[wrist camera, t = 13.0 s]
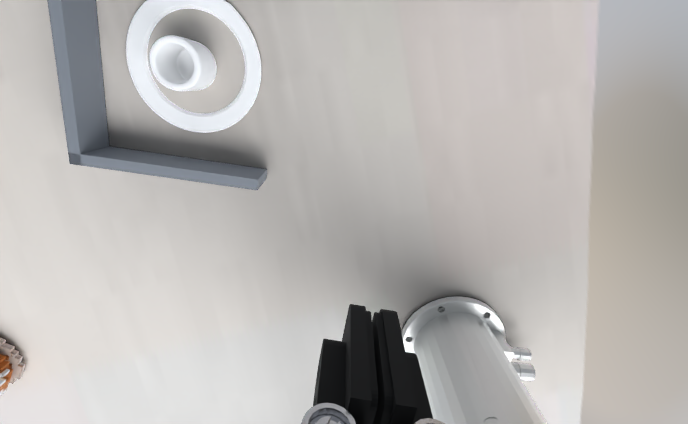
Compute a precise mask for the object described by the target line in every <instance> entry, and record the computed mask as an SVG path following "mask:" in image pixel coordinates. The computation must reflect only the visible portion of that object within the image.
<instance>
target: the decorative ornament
mask: <svg viewBox="0 0 688 424" xmlns="http://www.w3.org/2000/svg"><path fill="white" fill-rule="evenodd" d="M14 348H15V346H13V345H10V344H7V343H6V340H5V339H3V338H0V396H1V395H2V394H3V393H4V392H5V391H7V387H8V384H9V383H12V384H13V383H14V382H15V381H16V380H17V379H20V378H21V377H22V376H23V372H24V369H25V365H26V364H25V363H22V362H21V361H22V357H23V356H21V355H19V354H18V353H19V351H17V350H14Z"/></svg>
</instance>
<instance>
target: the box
mask: <svg viewBox="0 0 688 424" xmlns="http://www.w3.org/2000/svg"><path fill="white" fill-rule="evenodd" d="M48 8H49V15H50V22H51V30H52V37H53V44H54V52H55V59H56V66H57V74H58V81H59V88H60V96H61V103H62V110H63V118H64V125H65V132H66V140H67V147H68V154H69V162H70V164H75V165H83V166H90V167H97V168H104V169H111V170H118V171H125V172H132V173H139V174H146V175H153V176H160V177H167V178H174V179H181V180H188V181H195V182H203V183H210V184H217V185H224V186H231V187H238V188H245V189H252V190H258V189H259V187H260V186H261V185H262V184H263V182H264V181H265V180H266V176H267V169H262V168H255V167H249V166H242V165H235V164H228V163H221V162H214V161H207V160H201V159H194V158H187V157H180V156H173V155H166V154H159V153H152V152H146V151H139V150H132V149H125V148H118V147H111V146H109V138H108V127H107V116H106V105H105V95H104V84H103V73H102V62H101V51H100V41H99V30H98V19H97V8H96V0H48Z"/></svg>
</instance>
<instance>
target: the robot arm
mask: <svg viewBox="0 0 688 424" xmlns="http://www.w3.org/2000/svg"><path fill="white" fill-rule="evenodd" d="M512 359H517V360H523V361H530V360H531V352H530V350H529V349H527V348H518V347H517V348H513V347H511V346H510V345H508V343H507V342H506V335H505V329H504V325H503V323H502V322H501V320H500V318H499V317H498V315H497V314H496V313H495V311H494V310H493V309H492V308H491V307H489V306H488V305H487V304H485V303H483V302H481V301H479V300H476V299H473V298H469V297H461V296H456V297H446V298H441V299H438V300H435V301H432V302H430V303H428V304H426V305H424V306H423V307H421V308H420V309H418V310H417V311H416V312H415V313H413V315H412V316H411V317H410V318H409V319H408V320H407V322H406V324H405V326H404V327H403V330H402V333H401V329H400V324H399V319H398V315H397V312H396V311H390V310H383V309H381V310H380V313H376V312H375V313H374V316H373V320H371V312H370V311H366V308H365V306H359V305H353V304H350V306H349V310H348V315H347V319H346V324H345V329H344V334H343V338H342V342H341V341H335V340H328V339H323V344H322V349H321V354H320V360H319V366H318V372H317V379H316V387H315V395H314V403H313V407H311V408H310V409H309V410H308V411H307V412H306V414H305V416H304V418H303V420H302V423H301V424H548V423H547V421H546V420H545V418H544V417H543V415H542V413H541V412H540V410H539V408H538V407H537V405H536V403H535V402H534V400H533V398H532V397H531V395H530V393H529V392H528V390H527V388H526V387H525V385H524V383H523V382H522V380H525V381H533V380H534V379H535V369H534V367H533V366H532V365H531V364H527V363H518V362H514V363H512V362H511V360H512Z"/></svg>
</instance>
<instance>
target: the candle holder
mask: <svg viewBox="0 0 688 424" xmlns="http://www.w3.org/2000/svg"><path fill="white" fill-rule="evenodd" d="M180 9H198V10H202V11H205V12H208V13H210V14H212V15H214V16H215V17H217V18H218V19H220V20H221V21H222V22H223V23H224V24H226V25H227V26H228V28H229V29H230V30H231V31H232V32H233V34H234V35H235V37H236V39H237V40H238V42H239V44H240V47H241V49H242V53H243V56H244V62H245V76H244V81H243V85H242V88H241V90H240V92H239V94H238V95H237V97H236V98H235V99H234V100H233V102H232V103H230V104H229V105H228V106H227V107H225V108H223V109H221V110H219V111H216V112H213V113H194V112H190V111H187V110H185V109H182V108H180V107H179V106H177V105H175V104H174V103H173V102H171V101H170V100H169V99H168V98H167V97H166V96H165V95H164V94H163V93H162V92H161V90H160V89H159V88H158V86H157V85H156V83H155V81H154V79H153V77H152V74H151V72H150V68H151V70H152V73H153V74H154V76H155V78H156V79H157V80H158V81H159V82H160V83H161V84H162V85H164V86H165V87H167V88H169V89H171V90H175V91H196V90H203V89H205V88H207V87H209V86H210V85H211V84H212V83H213V81H214V79H215V77H216V73H217V66H216V61H215V58H214V56H213V54H212V53H211V51H210V50H209V49H208V48H207V47H206V46H204V45H203V44H201V43H199V42H197V41H194V40H190V39H187V38H183V37H180V36H175V35H167V36H163V37H161V38H159V39H158V40H157V41H155V43H154V44H153V45H152V47H151V50H150V53H149V63H150V68H149V64H148V56H147V50H148V42H149V38H150V35H151V33H152V31H153V29H154V27H155V26H156V24H157V23H158V22H159V21H160V20H161V19H162V18H163V17H164V16H166V15H167V14H169V13H171V12H173V11H176V10H180ZM126 58H127V64H128V69H129V72H130V76H131V78H132V81H133V83H134V85H135V87H136V89H137V91H138V93H139V94H140V96H141V97H142V99H143V100H144V101H145V103H146V104H147V105H148V106H149V107H150V108H151V109H152V110H153V111H154V112H155V113H156V114H157V115H158V116H160V117H161V118H162V119H164V120H165V121H167V122H168V123H170V124H172V125H174V126H176V127H178V128H181V129H184V130H187V131H192V132H199V133H209V132H216V131H220V130H223V129H226V128H228V127H230V126H232V125H234V124H235V123H237V122H238V121H239V120H241V119H242V118H243V117H244V116H245V115H246V114H247V112H248V111H249V110H250V108H251V107H252V105H253V104H254V102H255V99H256V97H257V94H258V91H259V88H260V83H261V60H260V54H259V50H258V47H257V44H256V41H255V38H254V36H253V34H252V32H251V30H250V29H249V27H248V25H247V24H246V22H245V21H244V20H243V18H242V17H241V16H240V14H239V13H238V12H237V11H236V9H235V8H234V7H233V6H232V5H231V4H230V3H228V2H226V1H225V0H146V1H145V2H144V3H143V4H142V5H141V7H140V8H139V9H138V10H137V12H136V13H135V15H134V17H133V19H132V21H131V23H130V26H129V29H128V33H127V39H126Z"/></svg>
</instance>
